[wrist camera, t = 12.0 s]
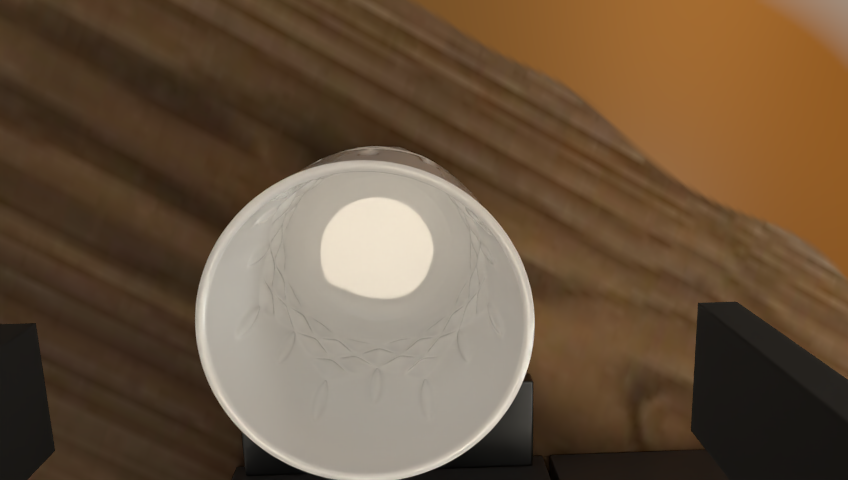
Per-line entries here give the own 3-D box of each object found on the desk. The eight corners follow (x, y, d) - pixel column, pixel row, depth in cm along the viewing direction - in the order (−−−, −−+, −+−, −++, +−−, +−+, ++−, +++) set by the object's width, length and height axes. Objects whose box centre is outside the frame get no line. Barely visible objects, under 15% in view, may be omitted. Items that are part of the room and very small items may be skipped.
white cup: (359, 82, 25) (330, 86, 16) (532, 219, 27) (604, 302, 17) (229, 255, 27) (127, 358, 17) (399, 378, 28) (395, 541, 18)
